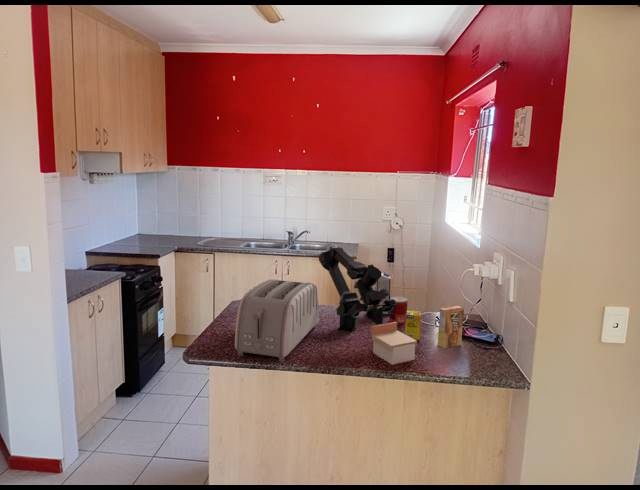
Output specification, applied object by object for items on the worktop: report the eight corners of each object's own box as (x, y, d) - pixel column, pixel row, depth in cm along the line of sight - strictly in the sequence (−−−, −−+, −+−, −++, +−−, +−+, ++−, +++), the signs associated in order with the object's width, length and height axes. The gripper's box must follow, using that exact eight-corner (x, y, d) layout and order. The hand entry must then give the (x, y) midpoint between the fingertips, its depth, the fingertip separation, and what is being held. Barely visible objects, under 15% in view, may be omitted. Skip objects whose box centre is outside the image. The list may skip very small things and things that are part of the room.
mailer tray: (373, 352, 179) (373, 336, 178) (394, 348, 183) (395, 332, 182) (392, 365, 168) (392, 347, 167) (414, 360, 173) (415, 343, 172)
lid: (370, 339, 178) (371, 326, 177) (395, 335, 184) (395, 321, 183) (391, 352, 167) (391, 337, 166) (416, 346, 172) (417, 332, 171)
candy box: (454, 341, 191) (456, 305, 189) (461, 345, 188) (464, 308, 185) (436, 345, 188) (439, 307, 185) (444, 348, 184) (446, 311, 181)
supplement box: (419, 341, 191) (421, 315, 189) (404, 340, 192) (405, 314, 190) (419, 336, 196) (421, 311, 194) (404, 335, 198) (406, 310, 196)
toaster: (228, 359, 171) (227, 299, 167) (275, 320, 213) (275, 272, 209) (283, 367, 165) (284, 306, 161) (320, 326, 207) (321, 276, 203)
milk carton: (373, 311, 229) (374, 270, 225) (387, 311, 229) (389, 271, 225) (375, 315, 222) (376, 274, 218) (389, 316, 222) (391, 274, 218)
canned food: (408, 321, 215) (410, 298, 213) (402, 326, 208) (403, 302, 206) (393, 318, 219) (394, 295, 217) (386, 323, 212) (387, 299, 210)
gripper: (354, 284, 179) (370, 320, 171) (394, 279, 187) (411, 314, 180) (343, 298, 187) (357, 334, 179) (382, 293, 196) (397, 327, 188)
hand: (381, 327), depth 181 cm, fingers closed
